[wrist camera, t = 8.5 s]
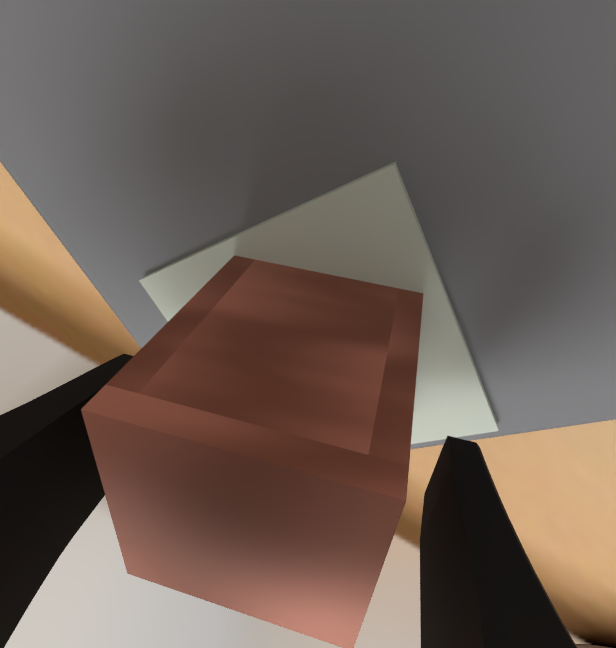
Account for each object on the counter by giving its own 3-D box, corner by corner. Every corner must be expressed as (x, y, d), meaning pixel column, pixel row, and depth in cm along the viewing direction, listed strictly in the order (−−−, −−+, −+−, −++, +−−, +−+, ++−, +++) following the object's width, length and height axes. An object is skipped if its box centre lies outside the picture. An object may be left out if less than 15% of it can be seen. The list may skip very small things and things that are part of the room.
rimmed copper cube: (423, 293, 11) (405, 500, 6) (385, 432, 14) (352, 650, 9) (234, 255, 12) (81, 409, 7) (235, 393, 14) (127, 573, 9)
